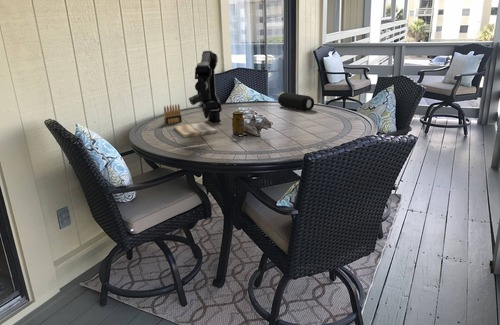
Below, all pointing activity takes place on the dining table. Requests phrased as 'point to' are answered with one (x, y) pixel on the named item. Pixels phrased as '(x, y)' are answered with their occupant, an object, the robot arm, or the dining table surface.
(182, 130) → the plank
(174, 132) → the underlay mat
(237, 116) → the condiment
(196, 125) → the loose plank
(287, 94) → the portable speaker
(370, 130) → the dining table surface
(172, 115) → the ammunition clip
